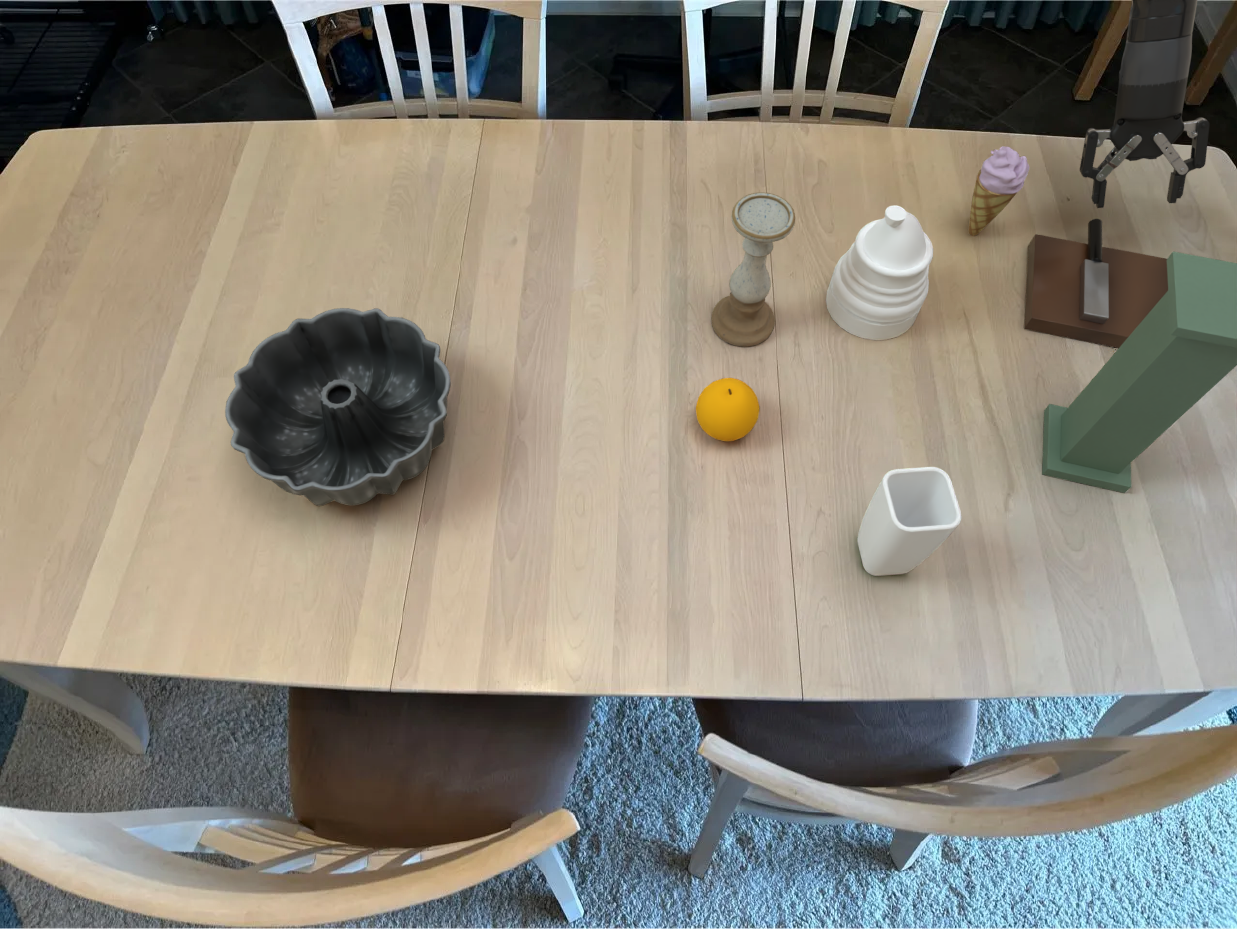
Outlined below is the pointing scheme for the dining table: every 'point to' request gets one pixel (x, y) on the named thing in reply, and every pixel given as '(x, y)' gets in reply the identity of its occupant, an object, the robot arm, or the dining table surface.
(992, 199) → the ice cream cone
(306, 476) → the bundt pan
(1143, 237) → the dining table surface
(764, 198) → the candle holder
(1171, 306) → the stand
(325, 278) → the dining table surface
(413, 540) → the dining table surface
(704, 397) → the orange
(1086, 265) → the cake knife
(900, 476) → the cup
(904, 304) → the honey pot
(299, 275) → the dining table surface
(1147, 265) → the cutting board
